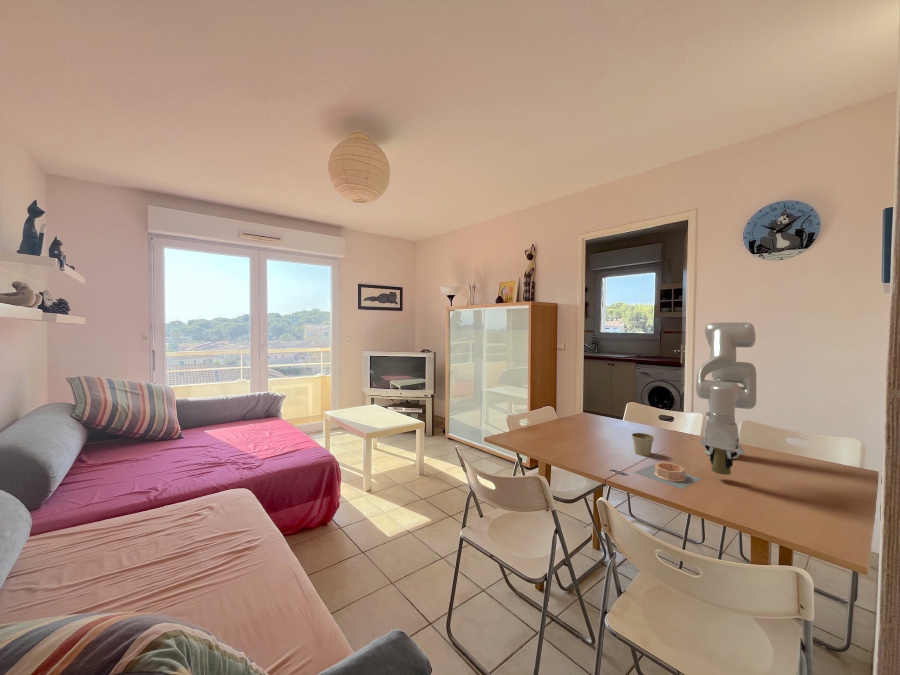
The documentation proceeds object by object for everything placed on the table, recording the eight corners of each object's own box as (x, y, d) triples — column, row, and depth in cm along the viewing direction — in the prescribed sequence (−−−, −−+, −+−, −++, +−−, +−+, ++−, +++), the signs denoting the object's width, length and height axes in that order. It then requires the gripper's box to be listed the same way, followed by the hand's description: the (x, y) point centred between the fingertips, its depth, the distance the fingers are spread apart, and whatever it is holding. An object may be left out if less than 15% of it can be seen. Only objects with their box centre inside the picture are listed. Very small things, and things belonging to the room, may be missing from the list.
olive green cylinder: (727, 468, 143) (728, 440, 142) (733, 475, 137) (734, 446, 137) (708, 467, 145) (709, 439, 144) (714, 473, 139) (714, 444, 139)
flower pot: (658, 458, 166) (658, 439, 166) (637, 458, 166) (637, 439, 166) (647, 451, 175) (648, 432, 175) (627, 451, 176) (627, 432, 175)
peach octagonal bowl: (663, 469, 153) (663, 460, 152) (690, 477, 144) (690, 468, 144) (649, 474, 147) (649, 465, 147) (676, 484, 138) (677, 474, 138)
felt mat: (655, 464, 158) (655, 464, 158) (702, 479, 143) (702, 478, 143) (633, 473, 149) (633, 472, 149) (681, 490, 134) (681, 488, 134)
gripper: (692, 414, 145) (692, 460, 146) (744, 425, 131) (743, 476, 132) (701, 411, 149) (701, 456, 150) (753, 421, 135) (752, 470, 136)
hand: (721, 465), depth 141 cm, fingers closed on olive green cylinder, 4 cm apart
